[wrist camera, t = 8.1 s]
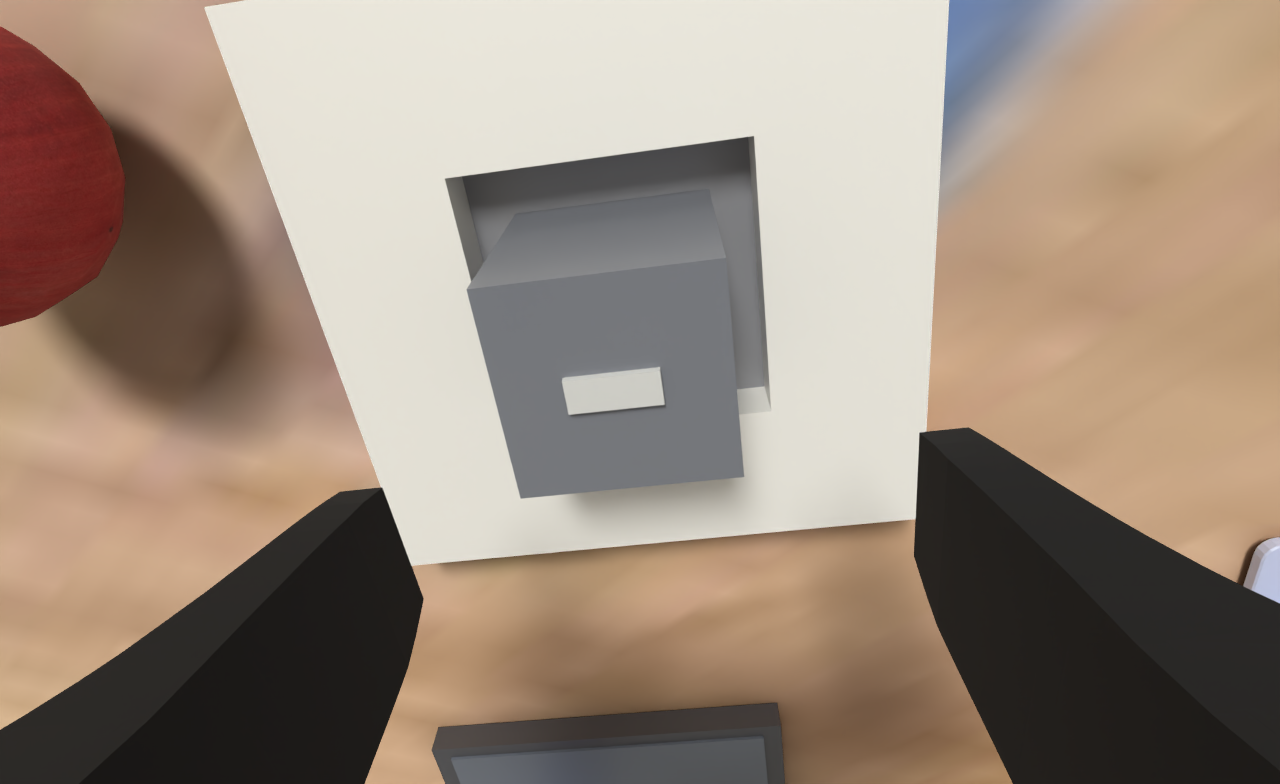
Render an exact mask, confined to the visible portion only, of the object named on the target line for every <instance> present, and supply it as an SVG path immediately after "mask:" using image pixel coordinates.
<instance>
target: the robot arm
mask: <svg viewBox="0 0 1280 784" xmlns="http://www.w3.org/2000/svg"><path fill="white" fill-rule="evenodd" d="M914 557H915V561H916V564H917V567H918V570H919V573H920V576H921V579H922V582H923V586H924V589H925V592H926V595H927V598H928V601H929V604H930V606H931V609H932V612H933V615H934V618H935V621H936V624H937V626H938V628H939V631H940V633H941V635H942V637H943V639H944V641H945V644H946V646H947V648H948V650H949V652H950V654H951V656H952V658H953V660H954V662H955V665H956V667H957V669H958V671H959V673H960V675H961V677H962V679H963V681H964V683H965V685H966V688H967V690H968V692H969V694H970V696H971V698H972V700H973V702H974V704H975V706H976V708H977V710H978V712H979V714H980V716H981V718H982V721H983V723H984V725H985V727H986V729H987V731H988V733H989V735H990V737H991V739H992V741H993V743H994V745H995V747H996V749H997V752H998V754H999V756H1000V758H1001V760H1002V762H1003V764H1004V766H1005V768H1006V770H1007V772H1008V774H1009V776H1010V778H1011V780H1012V783H1013V784H1280V537H1277V538H1272V539H1268V540H1266V541H1264V542H1262V543H1261V544H1260V545H1259V546H1258V547H1257V548H1256V550H1255V552H1254V554H1253V557H1252V561H1251V564H1250V567H1249V570H1248V573H1247V576H1246V579H1245V582H1244V585H1243V586H1242V585H1240V584H1238V583H1236V582H1234V581H1232V580H1230V579H1228V578H1226V577H1224V576H1222V575H1220V574H1218V573H1216V572H1214V571H1212V570H1210V569H1208V568H1206V567H1204V566H1202V565H1200V564H1198V563H1196V562H1195V561H1193V560H1191V559H1189V558H1187V557H1185V556H1183V555H1182V554H1180V553H1178V552H1176V551H1174V550H1172V549H1170V548H1169V547H1167V546H1165V545H1163V544H1161V543H1159V542H1157V541H1156V540H1154V539H1152V538H1150V537H1148V536H1146V535H1145V534H1143V533H1141V532H1139V531H1138V530H1136V529H1134V528H1132V527H1131V526H1129V525H1127V524H1125V523H1124V522H1122V521H1120V520H1118V519H1117V518H1115V517H1113V516H1112V515H1110V514H1108V513H1107V512H1105V511H1103V510H1102V509H1100V508H1098V507H1096V506H1095V505H1093V504H1092V503H1090V502H1088V501H1087V500H1085V499H1083V498H1082V497H1080V496H1078V495H1077V494H1075V493H1073V492H1072V491H1070V490H1069V489H1067V488H1065V487H1064V486H1062V485H1061V484H1059V483H1057V482H1056V481H1054V480H1052V479H1051V478H1049V477H1048V476H1046V475H1045V474H1043V473H1041V472H1040V471H1038V470H1037V469H1035V468H1034V467H1032V466H1030V465H1029V464H1027V463H1026V462H1024V461H1022V460H1021V459H1019V458H1018V457H1016V456H1015V455H1013V454H1011V453H1010V452H1008V451H1007V450H1005V449H1004V448H1002V447H1000V446H999V445H997V444H996V443H994V442H992V441H991V440H989V439H987V438H986V437H984V436H982V435H981V434H979V433H977V432H976V431H974V430H972V429H970V428H959V429H949V430H939V431H930V432H920V433H919V454H918V477H917V499H916V522H915V545H914ZM422 604H423V596H422V593H421V591H420V588H419V585H418V582H417V580H416V577H415V574H414V572H413V569H412V566H411V564H410V561H409V558H408V555H407V553H406V550H405V547H404V545H403V542H402V539H401V536H400V534H399V531H398V528H397V526H396V523H395V520H394V518H393V515H392V512H391V509H390V507H389V504H388V501H387V499H386V496H385V493H384V490H383V488H372V489H363V490H353V491H343V492H339V493H338V494H336V495H334V496H333V497H331V498H330V499H328V500H327V501H325V502H324V503H322V504H321V505H319V506H318V507H317V508H315V509H314V510H312V511H311V512H310V513H308V514H307V515H306V516H304V517H303V518H302V519H300V520H299V521H298V522H296V523H295V524H294V525H292V526H291V527H290V528H288V529H287V530H286V531H284V532H283V533H282V534H281V535H279V536H278V537H277V538H275V539H274V540H273V541H271V542H270V543H269V544H268V545H266V546H265V547H264V548H262V549H261V550H260V551H259V552H257V553H256V554H255V555H253V556H252V557H251V558H249V559H248V560H247V561H246V562H244V563H243V564H242V565H240V566H239V567H238V568H236V569H235V570H234V571H233V572H231V573H230V574H229V575H227V576H226V577H225V578H223V579H222V580H221V581H220V582H218V583H217V584H216V585H214V586H213V587H212V588H210V589H209V590H208V591H207V592H205V593H204V594H202V595H201V596H200V597H198V598H197V599H196V600H194V601H193V602H191V603H190V604H189V605H187V606H186V607H185V608H183V609H182V610H180V611H179V612H178V613H176V614H175V615H173V616H172V617H171V618H169V619H168V620H167V621H165V622H164V623H162V624H161V625H160V626H158V627H157V628H155V629H154V630H153V631H151V632H150V633H149V634H147V635H146V636H144V637H143V638H142V639H140V640H139V641H137V642H136V643H135V644H133V645H132V646H131V647H129V648H128V649H126V650H125V651H123V652H122V653H121V654H119V655H118V656H116V657H115V658H113V659H112V660H110V661H109V662H107V663H106V664H104V665H103V666H101V667H100V668H98V669H97V670H95V671H94V672H92V673H91V674H89V675H88V676H86V677H85V678H83V679H82V680H80V681H79V682H77V683H75V684H74V685H72V686H71V687H69V688H67V689H66V690H64V691H63V692H61V693H59V694H58V695H56V696H55V697H53V698H52V699H50V700H48V701H47V702H45V703H44V704H42V705H40V706H39V707H37V708H36V709H34V710H32V711H31V712H29V713H28V714H26V715H24V716H23V717H21V718H19V719H18V720H16V721H14V722H13V723H11V724H9V725H8V726H6V727H4V728H3V729H1V730H0V784H364V783H365V781H366V778H367V776H368V773H369V770H370V768H371V765H372V762H373V760H374V757H375V755H376V752H377V749H378V747H379V744H380V742H381V739H382V736H383V734H384V731H385V728H386V726H387V723H388V721H389V718H390V715H391V712H392V710H393V707H394V704H395V702H396V699H397V696H398V694H399V691H400V688H401V686H402V683H403V680H404V677H405V674H406V671H407V669H408V665H409V661H410V657H411V653H412V649H413V645H414V641H415V637H416V633H417V628H418V623H419V618H420V614H421V609H422Z"/></svg>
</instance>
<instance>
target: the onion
mask: <svg viewBox="0 0 1280 784" xmlns="http://www.w3.org/2000/svg"><path fill="white" fill-rule="evenodd" d="M124 192H125V175H124V171H123V168H122V165H121V161H120V158H119V154H118V151H117V148H116V144H115V141H114V138H113V134H112V131H111V128H110V127H109V126H108V124H107V123H106V121H105V120H104V118H103V117H102V115H101V114H100V112H99V111H98V110H97V108H96V107H95V105H94V104H93V102H92V101H91V99H90V98H89V97H88V95H87V94H86V92H85V91H84V89H83V88H82V86H81V85H80V83H79V82H77V81H76V80H75V79H74V78H73V77H71V76H70V75H69V74H68V73H66V72H65V71H64V70H63V69H62V68H60V67H59V66H58V65H57V64H55V63H54V62H53V61H52V60H51V59H49V58H48V57H47V56H46V55H44V54H43V53H42V52H41V51H40V50H38V49H37V48H36V47H35V46H33V45H31V44H30V43H28V42H26V41H25V40H23V39H21V38H20V37H18V36H16V35H14V34H13V33H11V32H9V31H8V30H6V29H4V28H3V27H0V327H1V326H5V325H9V324H12V323H16V322H19V321H22V320H26V319H29V318H33V317H36V316H38V315H39V314H41V313H42V312H44V311H46V310H47V309H49V308H50V307H52V306H53V305H55V304H57V303H58V302H60V301H61V300H63V299H65V298H66V297H68V296H69V295H71V294H73V293H74V292H75V291H77V290H78V289H80V288H81V287H83V286H84V285H86V284H87V283H89V282H90V281H91V280H93V279H94V278H96V277H97V276H98V274H99V273H100V271H101V269H102V267H103V265H104V263H105V262H106V260H107V258H108V256H109V254H110V252H111V251H112V249H113V247H114V245H115V243H116V241H117V240H118V237H119V233H120V230H121V226H122V222H123V211H124Z"/></svg>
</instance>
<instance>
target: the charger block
mask: <svg viewBox="0 0 1280 784" xmlns="http://www.w3.org/2000/svg"><path fill="white" fill-rule="evenodd" d="M466 290H467V294H468V298H469V302H470V305H471V309H472V313H473V317H474V321H475V325H476V328H477V332H478V336H479V340H480V344H481V348H482V352H483V355H484V359H485V363H486V367H487V371H488V375H489V379H490V382H491V386H492V390H493V394H494V398H495V402H496V406H497V409H498V413H499V417H500V421H501V425H502V429H503V433H504V436H505V440H506V444H507V448H508V452H509V456H510V460H511V463H512V467H513V471H514V475H515V479H516V483H517V487H518V490H519V494H520V498H521V499H523V498H533V497H543V496H554V495H564V494H574V493H585V492H595V491H605V490H616V489H626V488H636V487H647V486H657V485H667V484H678V483H688V482H698V481H709V480H719V479H729V478H740V477H744V469H743V456H742V444H741V432H740V420H739V408H738V396H737V384H736V372H735V359H734V347H733V335H732V323H731V311H730V299H729V287H728V275H727V263H726V255H725V251H724V247H723V243H722V239H721V235H720V231H719V228H718V224H717V220H716V216H715V212H714V208H713V204H712V200H711V196H710V192H709V189H702V190H694V191H686V192H679V193H671V194H663V195H656V196H648V197H640V198H633V199H625V200H617V201H609V202H602V203H594V204H586V205H579V206H571V207H563V208H556V209H548V210H540V211H532V212H525V213H517V214H515V216H514V217H513V219H512V220H511V222H510V223H509V225H508V226H507V228H506V229H505V231H504V232H503V234H502V236H501V237H500V239H499V240H498V242H497V243H496V245H495V246H494V248H493V249H492V251H491V252H490V254H489V255H488V257H487V259H486V260H485V262H484V263H483V265H482V266H481V268H480V269H479V271H478V272H477V274H476V275H475V277H474V278H473V280H472V282H471V283H470V285H469V286H468V288H467V289H466Z"/></svg>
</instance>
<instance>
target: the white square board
mask: <svg viewBox="0 0 1280 784" xmlns="http://www.w3.org/2000/svg"><path fill="white" fill-rule="evenodd" d="M204 8H205V11H206V14H207V16H208V19H209V22H210V25H211V27H212V30H213V33H214V35H215V38H216V41H217V44H218V46H219V49H220V52H221V54H222V57H223V60H224V63H225V65H226V68H227V71H228V73H229V76H230V79H231V82H232V84H233V87H234V90H235V92H236V95H237V98H238V101H239V103H240V106H241V109H242V111H243V114H244V117H245V120H246V122H247V125H248V128H249V130H250V133H251V136H252V138H253V141H254V144H255V147H256V149H257V152H258V155H259V157H260V160H261V163H262V166H263V168H264V171H265V174H266V176H267V179H268V182H269V185H270V187H271V190H272V193H273V195H274V198H275V201H276V204H277V206H278V209H279V212H280V214H281V217H282V220H283V223H284V225H285V228H286V231H287V233H288V236H289V239H290V241H291V244H292V247H293V250H294V252H295V255H296V258H297V260H298V263H299V266H300V269H301V271H302V274H303V277H304V279H305V282H306V285H307V288H308V290H309V293H310V296H311V298H312V301H313V304H314V307H315V309H316V312H317V315H318V317H319V320H320V323H321V326H322V328H323V331H324V334H325V336H326V339H327V342H328V345H329V347H330V350H331V353H332V355H333V358H334V361H335V363H336V366H337V369H338V372H339V374H340V377H341V380H342V382H343V385H344V388H345V391H346V393H347V396H348V399H349V401H350V404H351V407H352V410H353V412H354V415H355V418H356V420H357V423H358V426H359V429H360V431H361V434H362V437H363V439H364V442H365V445H366V448H367V450H368V453H369V456H370V458H371V461H372V464H373V467H374V469H375V472H376V475H377V477H378V480H379V483H380V485H381V488H383V490H384V493H385V496H386V499H387V501H388V504H389V507H390V509H391V512H392V515H393V518H394V520H395V523H396V526H397V528H398V531H399V534H400V536H401V539H402V542H403V545H404V547H405V550H406V553H407V555H408V558H409V561H410V564H411V566H412V565H423V564H434V563H445V562H456V561H467V560H477V559H488V558H499V557H510V556H521V555H532V554H542V553H553V552H564V551H575V550H586V549H597V548H608V547H618V546H629V545H640V544H651V543H662V542H673V541H683V540H694V539H705V538H716V537H727V536H738V535H748V534H759V533H770V532H781V531H792V530H803V529H813V528H824V527H835V526H846V525H857V524H868V523H879V522H889V521H900V520H911V519H916V499H917V477H918V454H919V433H920V432H926V427H927V408H928V389H929V370H930V351H931V332H932V314H933V295H934V276H935V257H936V238H937V219H938V200H939V181H940V163H941V144H942V125H943V106H944V87H945V68H946V49H947V30H948V12H949V0H245V1H239V2H233V3H227V4H220V5H214V6H208V7H204ZM702 189H709V192H710V196H711V200H712V204H713V208H714V212H715V216H716V220H717V224H718V228H719V231H720V235H721V239H722V243H723V247H724V251H725V255H726V263H727V275H728V287H729V299H730V311H731V323H732V335H733V347H734V359H735V372H736V384H737V396H738V408H739V420H740V432H741V444H742V456H743V469H744V477H740V478H729V479H719V480H709V481H698V482H688V483H678V484H667V485H657V486H647V487H636V488H626V489H616V490H605V491H595V492H585V493H574V494H564V495H554V496H543V497H533V498H523V499H521V498H520V494H519V490H518V487H517V483H516V479H515V475H514V471H513V467H512V463H511V460H510V456H509V452H508V448H507V444H506V440H505V436H504V433H503V429H502V425H501V421H500V417H499V413H498V409H497V406H496V402H495V398H494V394H493V390H492V386H491V382H490V379H489V375H488V371H487V367H486V363H485V359H484V355H483V352H482V348H481V344H480V340H479V336H478V332H477V328H476V325H475V321H474V317H473V313H472V309H471V305H470V302H469V298H468V294H467V290H466V289H467V288H468V286H469V285H470V283H471V282H472V280H473V278H474V277H475V275H476V274H477V272H478V271H479V269H480V268H481V266H482V265H483V263H484V262H485V260H486V259H487V257H488V255H489V254H490V252H491V251H492V249H493V248H494V246H495V245H496V243H497V242H498V240H499V239H500V237H501V236H502V234H503V232H504V231H505V229H506V228H507V226H508V225H509V223H510V222H511V220H512V219H513V217H514V216H515V214H517V213H525V212H532V211H540V210H548V209H556V208H563V207H571V206H579V205H586V204H594V203H602V202H609V201H617V200H625V199H633V198H640V197H648V196H656V195H663V194H671V193H679V192H686V191H694V190H702Z"/></svg>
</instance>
